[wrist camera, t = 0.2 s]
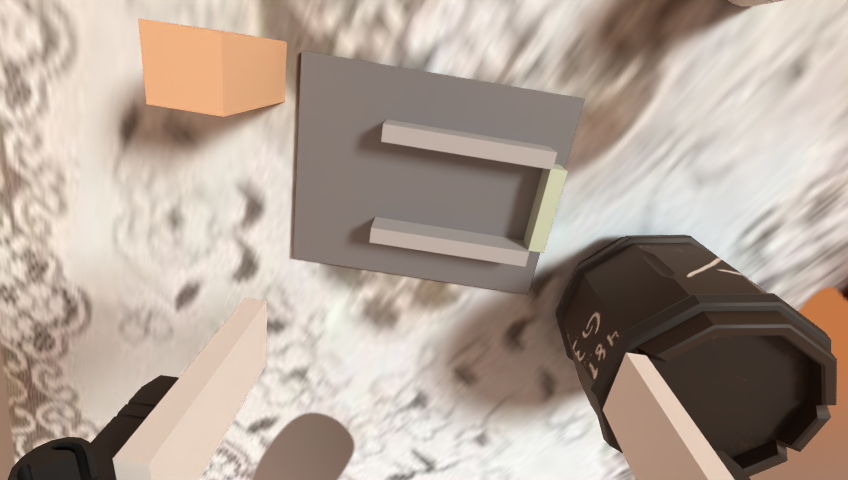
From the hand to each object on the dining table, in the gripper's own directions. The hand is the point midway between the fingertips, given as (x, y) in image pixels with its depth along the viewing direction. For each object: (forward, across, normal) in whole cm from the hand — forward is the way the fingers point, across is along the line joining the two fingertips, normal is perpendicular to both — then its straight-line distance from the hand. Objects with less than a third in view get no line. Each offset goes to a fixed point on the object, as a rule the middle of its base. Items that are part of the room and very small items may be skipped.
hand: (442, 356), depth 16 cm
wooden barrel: (+28, +23, -10) cm, 38 cm away
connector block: (+28, -18, +7) cm, 33 cm away
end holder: (+27, -1, -1) cm, 27 cm away
